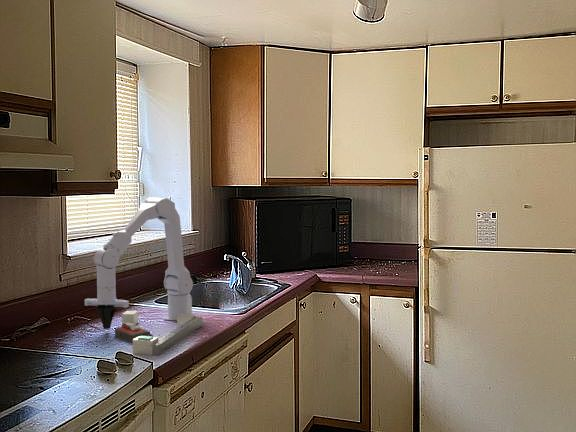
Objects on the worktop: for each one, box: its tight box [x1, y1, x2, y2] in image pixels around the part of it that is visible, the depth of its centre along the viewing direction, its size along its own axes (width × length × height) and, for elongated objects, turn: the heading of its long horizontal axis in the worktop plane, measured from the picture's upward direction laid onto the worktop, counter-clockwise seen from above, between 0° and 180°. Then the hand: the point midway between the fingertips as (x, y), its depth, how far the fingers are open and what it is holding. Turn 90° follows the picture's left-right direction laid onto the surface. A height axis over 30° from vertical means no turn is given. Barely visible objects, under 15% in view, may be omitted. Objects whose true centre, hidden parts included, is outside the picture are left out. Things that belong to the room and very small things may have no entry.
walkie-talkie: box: [114, 322, 154, 344], centre depth 194 cm, size 9×4×20 cm
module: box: [121, 310, 139, 325], centre depth 208 cm, size 5×4×4 cm
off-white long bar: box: [132, 313, 203, 356], centre depth 190 cm, size 35×8×4 cm, turn 168°
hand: (107, 328), depth 196 cm, fingers closed
